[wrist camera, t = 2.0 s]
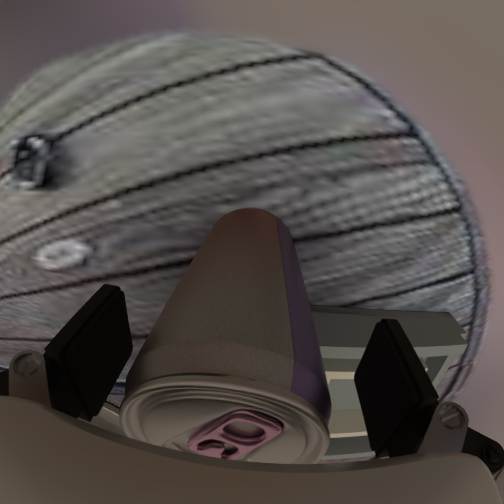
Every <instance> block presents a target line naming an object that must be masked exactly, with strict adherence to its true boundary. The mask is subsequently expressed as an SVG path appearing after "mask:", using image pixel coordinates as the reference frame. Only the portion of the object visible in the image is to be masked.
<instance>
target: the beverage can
mask: <svg viewBox="0 0 504 504" xmlns="http://www.w3.org/2000/svg"><path fill="white" fill-rule="evenodd" d="M331 411H332V403H331V397H330V393H329V388H328V383H327V378H326V374H325V369H324V364H323V360H322V355H321V351H320V347H319V342H318V338H317V334H316V329H315V325H314V321H313V317H312V313H311V308H310V304H309V300H308V296H307V292H306V288H305V284H304V281H303V277H302V273H301V269H300V265H299V261H298V258H297V254H296V250H295V246H294V243H293V239H292V236H291V234H290V232H289V230H288V229H287V227H286V226H285V225H284V224H283V223H282V222H281V221H280V220H279V219H278V218H277V217H275V216H274V215H272V214H270V213H268V212H265V211H262V210H258V209H241V210H237V211H234V212H231V213H229V214H227V215H225V216H224V217H222V218H221V219H220V220H219V221H218V222H217V223H216V224H215V225H214V226H213V228H212V230H211V231H210V233H209V234H208V236H207V237H206V239H205V241H204V242H203V244H202V246H201V247H200V249H199V250H198V252H197V254H196V255H195V257H194V259H193V260H192V262H191V263H190V265H189V267H188V268H187V270H186V272H185V273H184V275H183V277H182V278H181V280H180V282H179V284H178V285H177V287H176V289H175V290H174V292H173V294H172V295H171V297H170V299H169V301H168V302H167V304H166V306H165V307H164V309H163V311H162V313H161V314H160V316H159V318H158V320H157V321H156V323H155V325H154V327H153V329H152V330H151V332H150V334H149V336H148V337H147V339H146V341H145V343H144V345H143V347H142V348H141V350H140V352H139V354H138V356H137V358H136V359H135V361H134V363H133V365H132V367H131V369H130V371H129V373H128V375H127V378H126V385H125V397H124V399H123V400H122V402H121V405H120V409H119V421H120V425H121V428H122V430H123V432H124V434H125V435H126V437H129V438H132V439H136V440H139V441H142V442H146V443H150V444H153V445H157V446H161V447H165V448H169V449H174V450H178V451H183V452H188V453H193V454H198V455H204V456H210V457H216V458H223V459H231V460H239V461H249V462H261V463H278V464H316V463H317V462H318V461H320V460H321V458H322V457H323V456H324V454H325V453H326V451H327V449H328V446H329V442H330V433H329V427H328V424H329V420H330V416H331Z"/></svg>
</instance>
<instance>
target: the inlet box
mask: <svg viewBox="0 0 504 504" xmlns="http://www.w3.org/2000/svg"><path fill="white" fill-rule="evenodd" d="M310 308H311V313H312V317H313V321H314V325H315V329H316V334H317V338H318V342H319V347H320V351H321V355H322V360H323V364H324V369H325V374H326V378H327V383H328V388H329V393H330V397H331V403H332V411H331V416H330V420H329V424H328V427H329V433H330V442H329V446H328V449H327V451H326V453H325V454H324V456H323V457H322V458H321V460H329V459H343V458H354V457H363V456H371V455H375V451H372V450H371V448H370V444H369V439H368V435H367V430H366V426H365V422H364V418H363V414H362V410H361V406H360V402H359V398H358V394H357V390H356V387H355V383H354V374H355V371H356V369H357V367H358V365H359V363H360V360H361V358H362V356H363V354H364V351H365V349H366V347H367V344H368V342H369V340H370V337H371V335H372V332H373V330H374V327H375V325H376V323H377V322H380V321H381V320H382V319H383V318H384V319H397V320H398V321H399V323H400V325H401V327H402V328H403V330H404V332H405V334H406V335H407V337H408V339H409V341H410V342H411V344H412V346H413V348H414V350H415V351H416V353H417V355H418V357H419V359H420V361H421V363H422V365H423V366H424V368H425V370H426V372H427V374H428V376H429V378H430V380H431V382H432V384H433V386H434V388H436V387H437V385H438V384H439V382H440V381H441V379H442V377H443V376H444V374H445V373H446V371H447V369H448V368H449V366H450V364H451V362H452V361H453V359H454V357H455V355H457V354H463V352H464V351H465V349H466V347H467V345H468V344H467V342H466V341H465V340H464V338H465V337H466V335H467V333H466V332H465V330H464V329H463V328H462V327H461V326H460V324H459V323H458V322H457V321H456V320H455V319H454V318H453V316H452V315H451V314H450V313H449V312H415V311H392V310H374V309H358V308H343V307H330V306H318V305H310Z"/></svg>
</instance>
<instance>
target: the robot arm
mask: <svg viewBox="0 0 504 504" xmlns="http://www.w3.org/2000/svg"><path fill="white" fill-rule="evenodd" d="M132 350H133V344H132V339H131V333H130V328H129V322H128V316H127V309H126V302H125V295H124V292H123V291H121V289H120V287H118V286H114V285H109V284H104V285H103V286H102V287H101V288H100V289H99V290H98V291H97V292H96V293H95V294H94V295H93V296H92V297H91V298H90V299H89V300H88V301H87V302H86V303H85V304H84V305H83V306H82V308H81V309H80V310H79V311H78V312H77V313H76V314H75V315H74V316H73V317H72V318H71V319H70V320H69V322H68V323H67V324H66V325H65V326H64V327H63V328H62V329H61V330H60V332H59V333H58V334H57V335H56V336H55V337H54V338H53V339H52V341H51V342H50V343H49V344H48V345H47V346H46V348H45V351H46V352H45V353H44V354H43V355H42V354H41V353H39V352H38V351H35V350H25V351H22V352H20V353H18V354H17V355H16V356H15V357H13V359H12V360H11V362H10V365H9V370H7V371H3V372H0V504H504V450H503V448H502V446H501V445H500V444H499V443H497V442H496V441H494V440H492V439H490V438H488V437H486V436H484V435H482V434H480V433H479V432H477V431H475V430H473V429H471V428H469V427H468V423H469V419H468V415H467V413H466V412H465V410H464V409H463V408H462V407H461V406H460V405H458V404H457V403H454V402H450V401H445V402H442V403H440V404H439V403H438V401H437V399H438V398H439V396H438V394H437V392H436V390H435V388H434V386H433V384H432V382H431V380H430V378H429V376H428V374H427V372H426V370H425V368H424V366H423V365H422V363H421V361H420V359H419V357H418V355H417V353H416V351H415V350H414V348H413V346H412V344H411V342H410V341H409V339H408V337H407V335H406V334H405V332H404V330H403V328H402V327H401V325H400V323H399V321H398V320H397V319H384V318H383V319H382V320H381V321H380V322H377V323H376V325H375V327H374V330H373V332H372V335H371V337H370V340H369V342H368V344H367V347H366V349H365V351H364V354H363V356H362V358H361V360H360V363H359V365H358V367H357V369H356V371H355V374H354V383H355V387H356V390H357V394H358V398H359V402H360V406H361V410H362V414H363V418H364V422H365V426H366V430H367V435H368V439H369V444H370V448H371V450H372V451H375V455H376V458H380V457H387V456H389V457H390V458H385V459H377V460H368V461H357V462H346V463H329V464H278V463H261V462H249V461H239V460H231V459H223V458H216V457H210V456H204V455H198V454H193V453H188V452H183V451H178V450H174V449H169V448H165V447H161V446H157V445H153V444H150V443H146V442H142V441H139V440H136V439H132V438H129V437H126V435H125V434H124V432H123V430H122V428H121V425H120V421H119V409H118V408H116V407H114V406H113V405H111V404H109V403H107V402H105V401H106V399H107V397H108V395H109V393H110V392H111V390H112V388H113V386H114V384H115V382H116V381H117V379H118V377H119V375H120V373H121V372H122V370H123V368H124V366H125V364H126V363H127V361H128V359H129V357H130V356H131V354H132Z"/></svg>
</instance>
